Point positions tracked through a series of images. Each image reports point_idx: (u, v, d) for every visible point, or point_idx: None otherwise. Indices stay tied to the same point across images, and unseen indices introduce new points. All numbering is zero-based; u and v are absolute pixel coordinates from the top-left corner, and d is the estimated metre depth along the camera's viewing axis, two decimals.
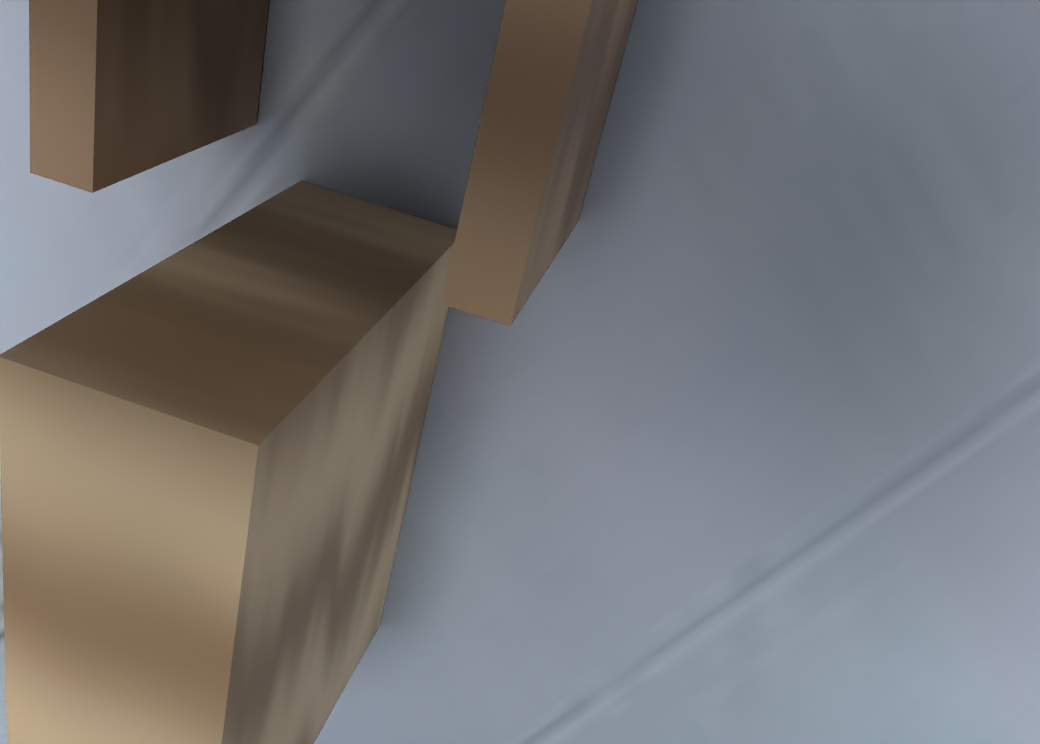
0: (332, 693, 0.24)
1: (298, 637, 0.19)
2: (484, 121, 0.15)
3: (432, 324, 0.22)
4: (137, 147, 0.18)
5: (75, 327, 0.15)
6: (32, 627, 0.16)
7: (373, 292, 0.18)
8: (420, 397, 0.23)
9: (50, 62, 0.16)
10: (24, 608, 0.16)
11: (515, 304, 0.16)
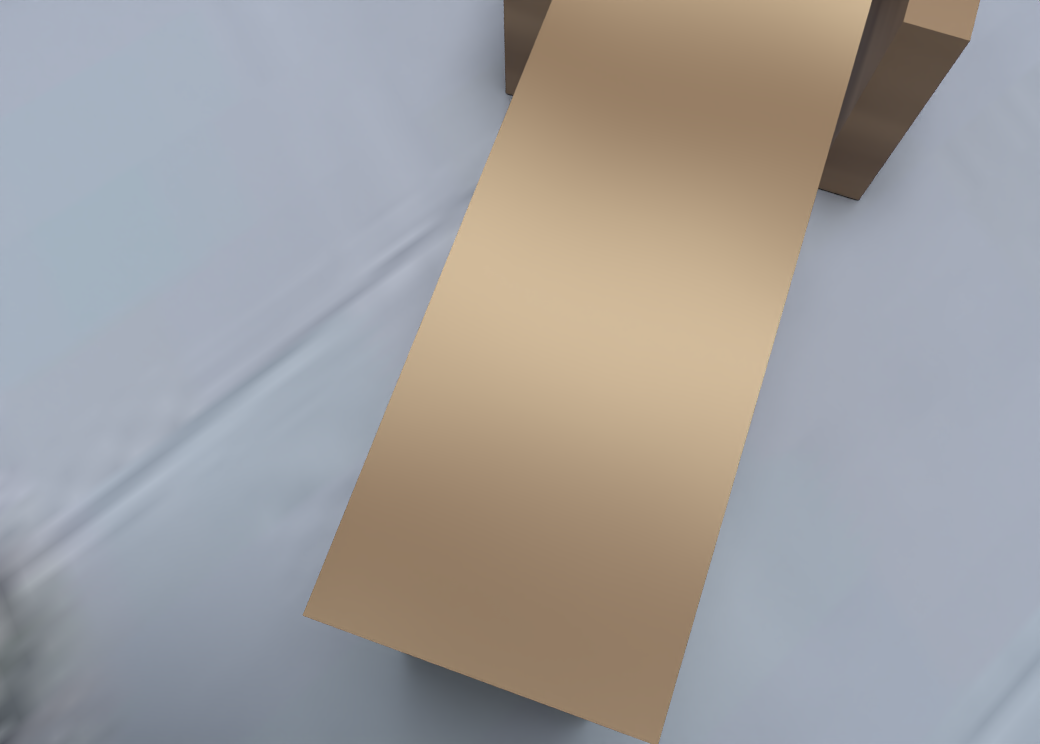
0: None
1: None
2: None
3: None
4: None
5: None
6: (556, 95, 0.13)
7: None
8: None
9: None
10: (554, 69, 0.13)
11: (972, 25, 0.18)
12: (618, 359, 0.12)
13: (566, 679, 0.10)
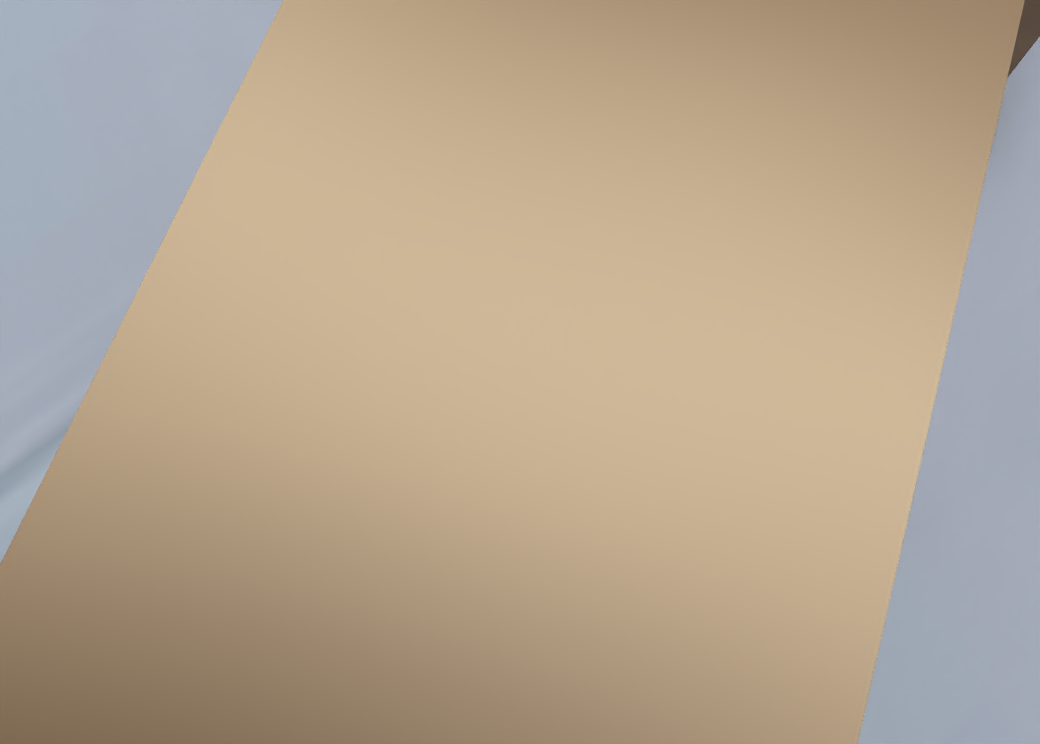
0: None
1: None
2: None
3: None
4: None
5: None
6: None
7: None
8: None
9: None
10: None
11: None
12: (576, 408, 0.05)
13: None
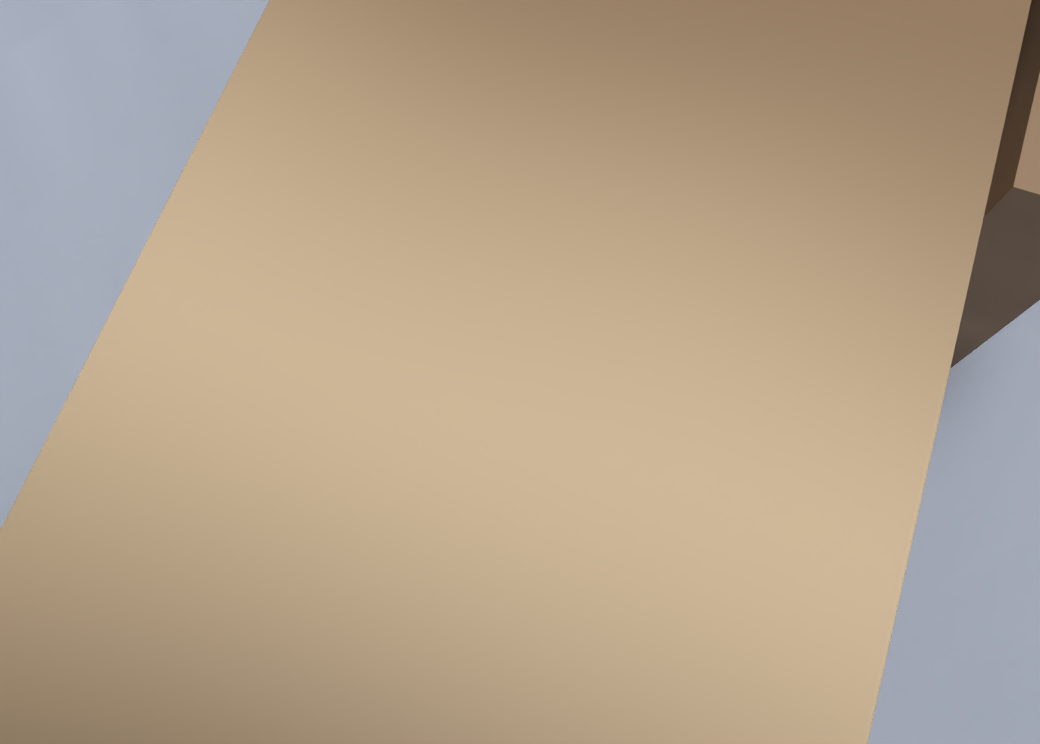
0: None
1: None
2: None
3: None
4: None
5: None
6: None
7: None
8: None
9: None
10: None
11: None
12: (517, 571, 0.05)
13: None
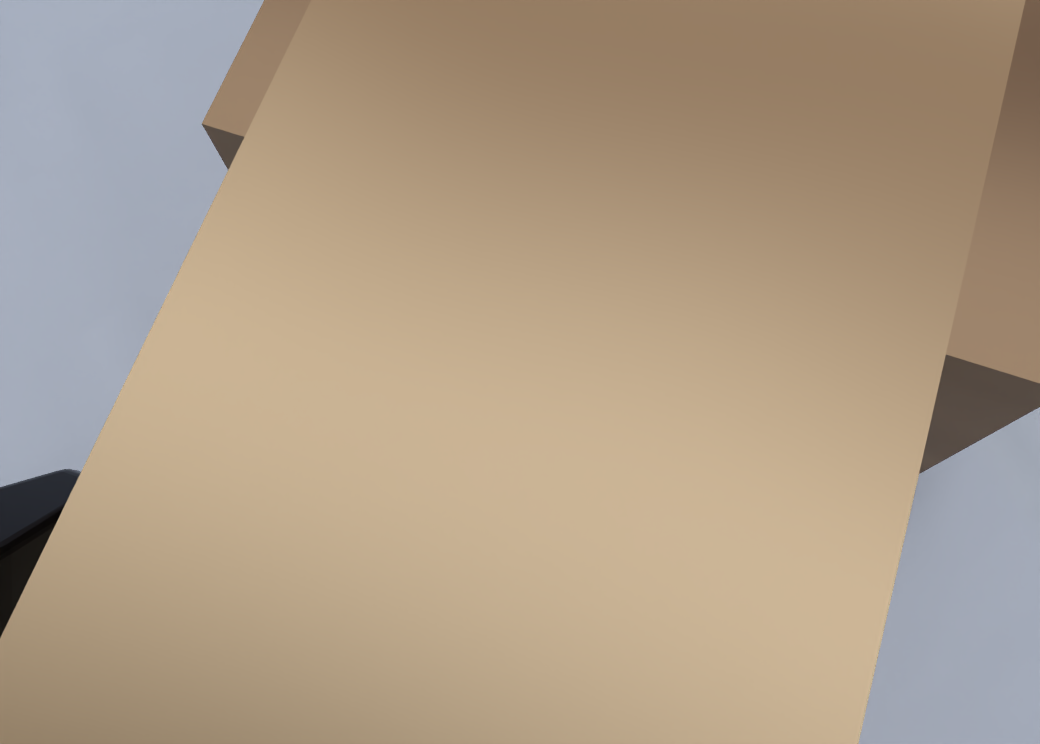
0: None
1: None
2: (1009, 80, 0.10)
3: None
4: None
5: None
6: (391, 27, 0.06)
7: None
8: None
9: None
10: None
11: None
12: (507, 657, 0.05)
13: None
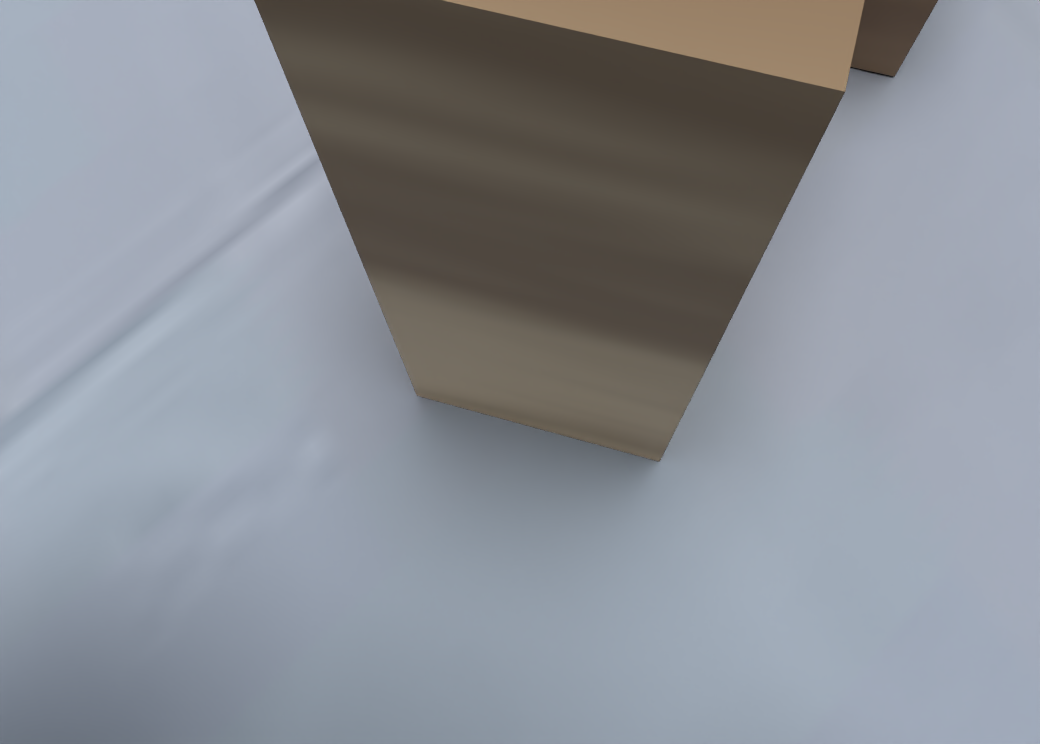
0: None
1: None
2: None
3: None
4: None
5: None
6: None
7: None
8: None
9: None
10: None
11: None
12: None
13: (680, 10, 0.06)
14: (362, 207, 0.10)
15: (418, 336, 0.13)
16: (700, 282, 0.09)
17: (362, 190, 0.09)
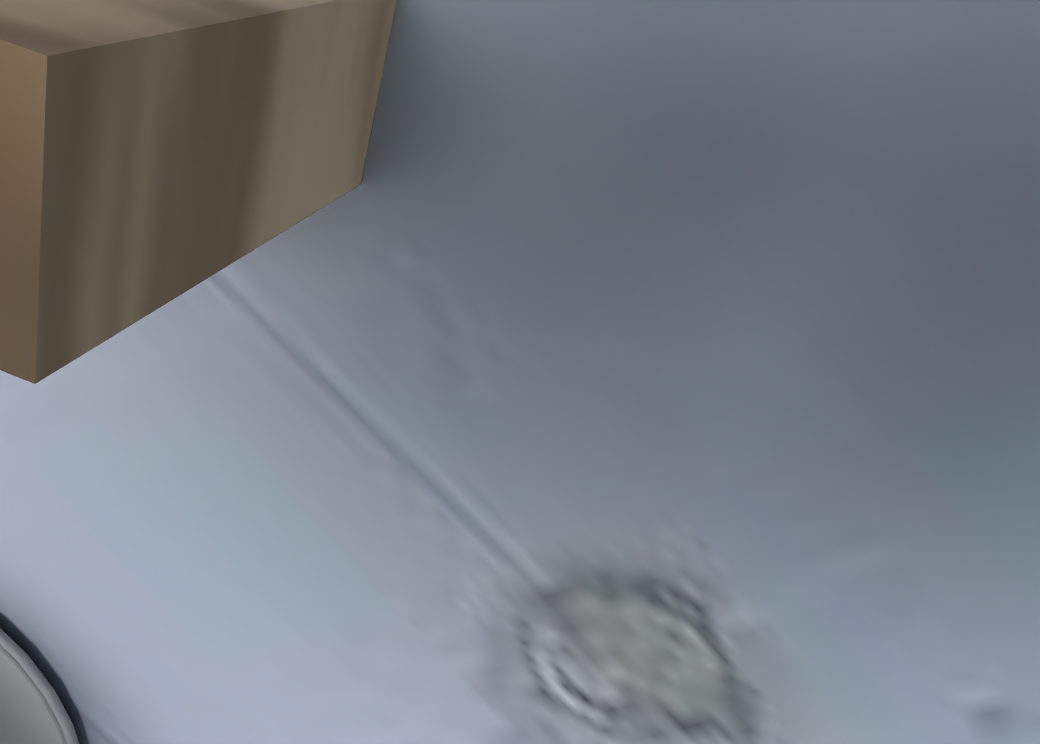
0: None
1: None
2: None
3: None
4: None
5: None
6: None
7: None
8: None
9: None
10: None
11: None
12: None
13: (18, 148, 0.11)
14: (190, 274, 0.15)
15: (297, 204, 0.18)
16: (207, 54, 0.13)
17: (176, 278, 0.14)
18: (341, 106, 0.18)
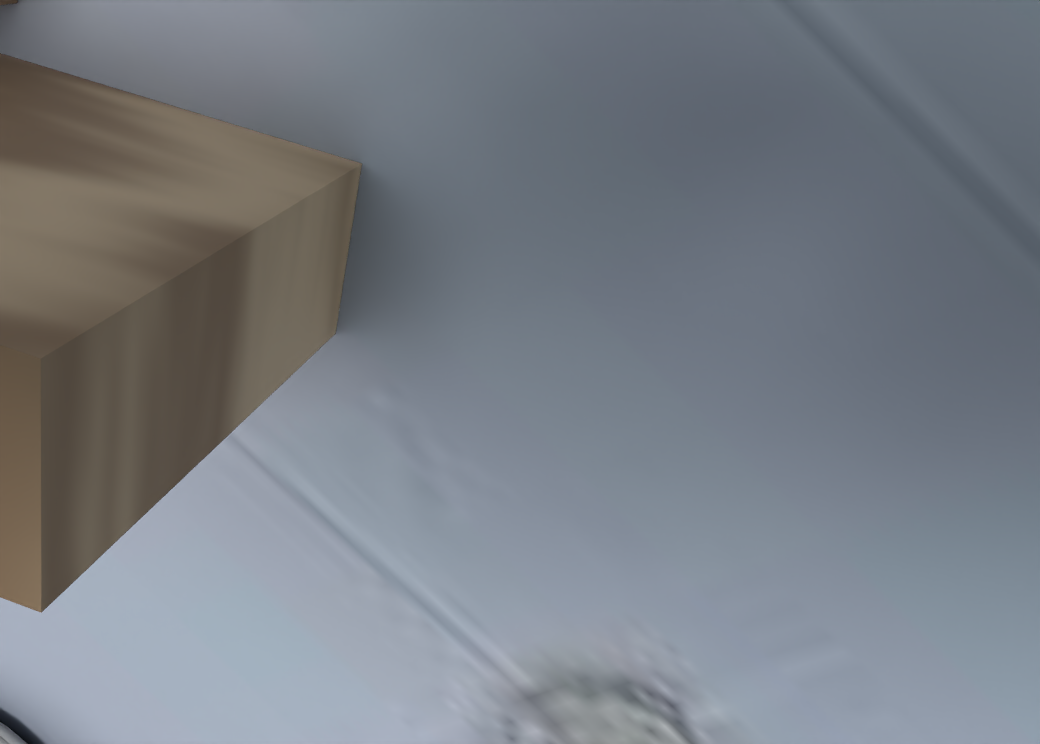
0: (235, 197, 0.17)
1: None
2: None
3: None
4: None
5: None
6: None
7: None
8: None
9: None
10: None
11: None
12: None
13: (17, 428, 0.12)
14: (177, 471, 0.16)
15: (275, 374, 0.19)
16: (183, 295, 0.15)
17: (165, 479, 0.16)
18: (312, 280, 0.20)
